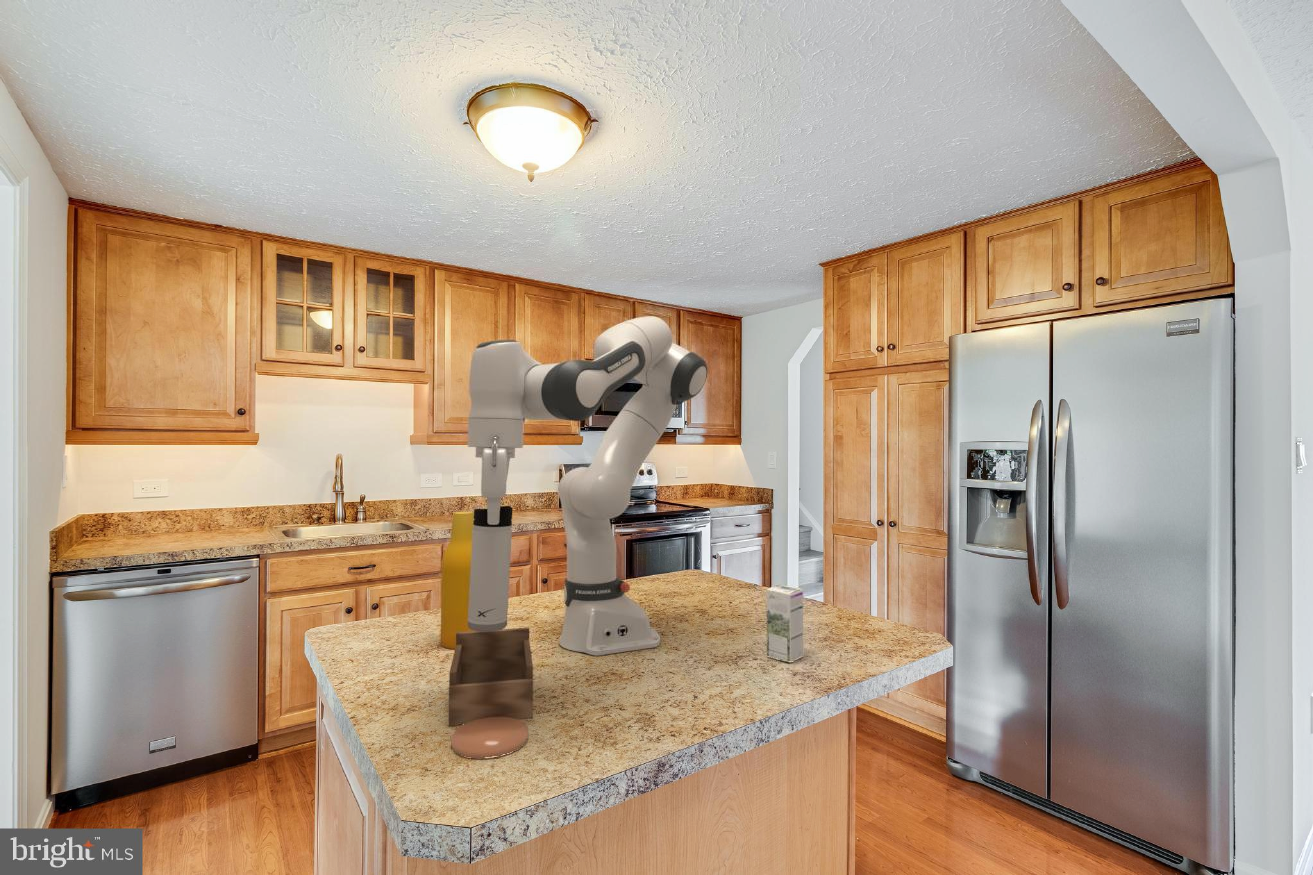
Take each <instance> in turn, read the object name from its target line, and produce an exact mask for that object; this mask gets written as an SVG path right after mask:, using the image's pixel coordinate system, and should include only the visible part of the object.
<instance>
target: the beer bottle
mask: <svg viewBox="0 0 1313 875" xmlns="http://www.w3.org/2000/svg"><path fill="white" fill-rule="evenodd" d="M473 521H474V511H455V512H453V514H452V521H451V522H452V523H451V529H450V538H449V542H448V545H447V546H446V549H445V551H444V553H443V555H442V558H441V567H440V572H441V573H440V576H441V577H440V578H441V580H440V581H441V582H440V584H441V585H440V588H441V589H440V634H439V635H440V637H439V638H440V645H441V646H442V647H444V648H446V649H449V650H455V647H456V632H469V631H474V630H471V629H470V628H468V608H469V589H470V570H471V552H472V533H473V529H474V528H473Z"/></svg>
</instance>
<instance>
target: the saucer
mask: <svg viewBox="0 0 1313 875" xmlns="http://www.w3.org/2000/svg"><path fill="white" fill-rule="evenodd" d="M527 739H528V740H529V728H528V725H527V723H525V722H524V721H523V720H522V719H515V718H510V717H487V718H482V719H477V720H474V721H471V722H468V723H466V724H464V725H460V727H458V728H456V729H455V731H454V732H453V733H452V736H451V749H452V751H453V750H454V751H455V752H456V753H457V754H456V753H455V752H454V751H453V752H454V753H455V754H456V755H458V754H460V755H462V756H466V757H471V758H485V757H492V756H501V755H503V754H507V753H510V752H512V751H515V750H517V749H519V748H520V747H522V745H524V744H525V743H526V744H527V742H528V740H527ZM526 741H527V742H526ZM526 744H525V745H526ZM525 745H524V746H525ZM522 748H523V747H522ZM520 749H521V748H520ZM520 749H519V750H520ZM517 751H518V750H517ZM515 752H516V751H515ZM460 755H459V756H460ZM462 756H461V757H462Z"/></svg>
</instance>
